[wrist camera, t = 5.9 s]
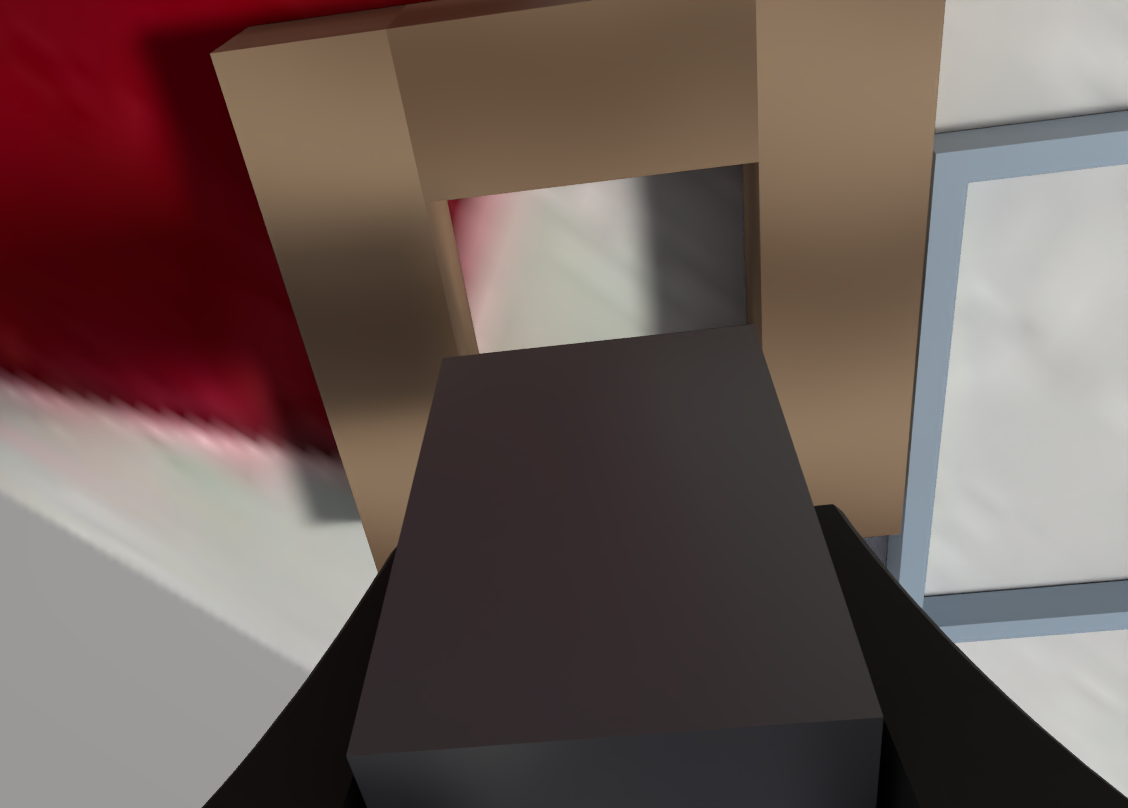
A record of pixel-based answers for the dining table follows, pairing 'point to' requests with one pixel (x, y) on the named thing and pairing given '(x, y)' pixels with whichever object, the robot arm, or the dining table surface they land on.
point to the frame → (907, 554)
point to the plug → (614, 595)
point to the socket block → (592, 154)
